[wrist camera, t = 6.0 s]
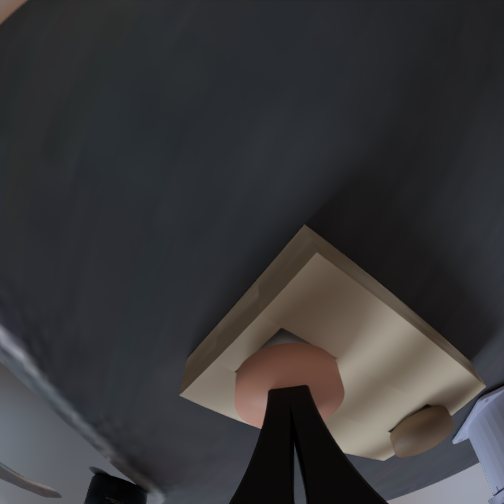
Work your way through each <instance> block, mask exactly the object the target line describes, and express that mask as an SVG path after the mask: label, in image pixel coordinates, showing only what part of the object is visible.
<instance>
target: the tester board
mask: <svg viewBox="0 0 504 504" xmlns="http://www.w3.org/2000/svg"><path fill="white" fill-rule="evenodd" d="M281 327H282V328H284V329H285V330H287V331H289V332H291V333H293V334H294V335H296V336H298V337H300V338H301V339H303V340H305V341H307V342H309V343H310V344H312V345H314V346H317V347H320V348H322V349H324V350H325V351H327V352H328V353H330V354H331V355H332V356H333V358H334V359H335V361H336V363H337V365H338V369H339V372H340V376H341V379H342V383H343V386H344V390H345V396H344V400H343V402H342V404H341V406H340V407H339V408H338V410H337V411H336V412H335V413H334V414H332V415H331V416H330V417H328V418H327V419H325V420H324V423H325V424H326V426H327V428H328V429H329V431H330V433H331V435H332V436H333V438H334V439H335V441H336V443H337V444H338V446H339V447H340V448H341V450H342V451H343V453H348V454H352V455H357V456H362V457H367V458H372V459H377V460H383V461H384V460H386V459H388V458H389V457H391V456H393V455H395V452H394V449H393V446H392V443H391V440H390V435H391V433H392V431H393V430H394V429H395V428H396V427H397V426H398V425H399V424H400V423H401V422H403V421H404V420H405V419H407V418H408V417H410V416H411V415H412V414H414V413H415V412H416V411H418V410H419V409H420V408H422V407H423V406H424V405H426V404H428V405H431V406H432V407H435V406H444V407H446V408H447V409H448V411H449V413H450V416H451V415H453V414H454V413H455V412H457V411H458V410H459V409H460V408H462V407H463V406H464V405H465V404H466V403H468V402H469V401H470V400H471V399H472V398H474V397H475V396H476V395H477V394H478V393H479V392H480V391H482V390H483V389H484V388H485V387H486V385H485V384H484V382H483V381H482V379H481V377H480V376H479V374H478V373H477V371H476V370H475V368H474V366H473V365H472V363H471V362H470V361H469V360H468V359H467V358H466V357H465V356H464V355H463V354H461V353H460V352H459V351H458V350H457V349H456V348H455V347H454V346H453V345H451V344H450V343H449V342H448V341H447V340H446V339H445V338H444V337H442V336H441V335H440V334H439V333H438V332H437V331H436V330H435V329H433V328H432V327H431V326H430V325H429V324H428V323H426V322H425V321H424V320H423V319H422V318H421V317H420V316H418V315H417V314H416V313H415V312H414V311H412V310H411V309H410V308H409V307H408V306H407V305H405V304H404V303H403V302H402V301H401V300H399V299H398V298H397V297H396V296H395V295H393V294H392V293H391V292H390V291H389V290H387V289H386V288H385V287H384V286H383V285H381V284H380V283H379V282H378V281H376V280H375V279H374V278H373V277H371V276H370V275H369V274H368V273H366V272H365V271H364V270H363V269H361V268H360V267H359V266H358V265H356V264H355V263H354V262H353V261H351V260H350V259H349V258H348V257H346V256H345V255H344V254H343V253H341V252H340V251H339V250H337V249H336V248H335V247H334V246H332V245H331V244H330V243H328V242H327V241H326V240H324V239H323V238H322V237H321V236H319V235H318V234H317V233H315V232H314V231H313V230H311V229H310V228H309V227H307V226H306V225H305V224H304V225H303V227H302V228H301V229H300V230H299V231H298V232H297V234H296V235H295V236H294V237H293V238H292V240H291V241H290V242H289V243H288V244H287V245H286V247H285V248H284V249H283V250H282V251H281V252H280V254H279V255H278V256H277V257H276V258H275V259H274V261H273V262H272V263H271V264H270V265H269V266H268V267H267V269H266V270H265V271H264V272H263V273H262V274H261V276H260V277H259V278H258V279H257V280H256V281H255V282H254V284H253V285H252V286H251V287H250V288H249V289H248V290H247V292H246V293H245V294H244V295H243V296H242V297H241V298H240V300H239V301H238V302H237V303H236V304H235V305H234V306H233V308H232V309H231V310H230V311H229V312H228V313H227V314H226V316H225V317H224V318H223V319H222V320H221V321H220V322H219V323H218V325H217V326H216V327H215V328H214V329H213V330H212V331H211V332H210V334H209V335H208V336H207V337H206V338H205V339H204V340H203V341H202V343H201V344H200V345H199V346H198V347H197V348H196V349H195V350H194V351H193V353H192V354H191V355H190V356H189V357H188V358H187V362H186V366H185V371H184V376H183V381H182V386H181V390H180V396H182V397H184V398H186V399H188V400H191V401H193V402H195V403H197V404H199V405H202V406H204V407H206V408H209V409H211V410H214V411H216V412H218V413H221V414H223V415H226V416H228V417H231V418H233V419H236V420H239V421H241V422H244V423H247V422H246V421H244V420H243V419H242V418H241V417H240V416H239V415H238V413H237V411H236V409H235V383H236V374H237V371H238V369H239V367H240V366H241V364H242V363H243V362H244V361H245V360H246V359H247V358H248V357H249V356H251V355H252V354H254V353H255V352H256V351H257V350H258V349H260V348H261V347H262V346H263V345H264V344H265V343H266V342H267V341H268V340H269V339H270V338H271V337H272V336H273V335H274V334H275V333H276V332H277V331H278V330H279V329H280V328H281ZM247 424H249V423H247ZM249 425H251V424H249ZM252 426H253V425H252Z"/></svg>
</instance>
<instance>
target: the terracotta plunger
mask: <svg viewBox="0 0 504 504" xmlns="http://www.w3.org/2000/svg"><path fill="white" fill-rule="evenodd" d="M300 385H307V386H309V389H310V392H311V395H312V397H313V400H314V402H315V405H316V407H317V409H318V411H319V413H320V415H321V417H322V419H323V421H324V420H325V419H327V418H328V417H330V416H331V415H332V414H334V413H335V412H336V411H337V410H338V408H339V407H340V406H341V404H342V402H343V400H344V396H345V390H344V386H343V383H342V379H341V376H340V372H339V369H338V365H337V363H336V361H335V359H334V358H333V356H332V355H331V354H330V353H328V352H327V351H325V350H324V349H322V348H320V347H317V346H314V345H312V344H310V343H309V342H307V341H305V340H303V339H301V338H300V337H298V336H296V335H294V334H293V333H291V332H289V331H287V330H285V329H284V328H282V327H281V328H280V329H279V330H278V331H277V332H276V333H275V334H274V335H273V336H272V337H271V338H270V339H269V340H268V341H267V342H266V343H265V344H264V345H263V346H262V347H261V348H260V349H258V350H257V351H256V352H255V353H254V354H252V355H251V356H249V357H248V358H247V359H246V360H245V361H244V362H243V363H242V364H241V366H240V367H239V369H238V371H237V374H236V383H235V409H236V411H237V413H238V415H239V416H240V417H241V418H242V419H243V420H244V421H246V422H247V423H249V424H251V425H253V426H255V427H258V428H262V425H263V421H264V416H265V411H266V406H267V398H268V391H269V390H270V389H277V388H285V387H293V386H300Z"/></svg>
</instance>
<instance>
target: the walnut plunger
mask: <svg viewBox="0 0 504 504" xmlns="http://www.w3.org/2000/svg"><path fill="white" fill-rule="evenodd" d="M453 429H454V422H453V420H452V418H451V416H450V413H449V411H448V409H447V408H446V407H444V406H435V407H432V406H431V405H428V404H426V405H424V406H423V407H422V408H420V409H419V410H418V411H416V412H415V413H414V414H412V415H411V416H410V417H408V418H407V419H405V420H404V421H403V422H401V423H400V424H399V425H398V426H397V427H396V428H395V429H394V430H393V431H392V433H391V435H390V440H391V443H392V446H393V449H394V452H395V455H396V456H397V457H410V456H414V455H417V454H420V453H422V452H425V451H427V450H429V449H431V448H432V447H434V446H436V445H437V444H439V443H440V442H442V441H443V440H444V439H445V438H446V437H447V436H448V435H449V434H450V433H451V432H452V431H453Z"/></svg>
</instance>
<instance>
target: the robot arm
mask: <svg viewBox="0 0 504 504" xmlns="http://www.w3.org/2000/svg"><path fill="white" fill-rule="evenodd" d="M468 438H469V439H470V441H471V443H472V446H473V448H474V450H475V452H476V455H477V457H478V459H479V462H480V464H481V466H482V469H483V471H484V473H485V476H486V478H487V481H488V483H489V486H490V489H491V491H492V494H493V496H494V497H493V498H491V499H490V500H489V501H488V502H489V504H504V386H503V387H501V388H499V389H497V390H494V391H492V392H490V393H488V394H486V395H484V396H482V397H480V398H479V399H478V401H477V402H476V404H475V406H474V407H473V409H472V411H471V412H470V414H469V416H468V417H467V419H466V421H465V422H464V424H463V425H462V427H461V428H460V430H459V432H458V433H457V435H456V436H455V438H454V439H453V441H452V442H453V444H456V443H459V442H461V441H463V440H465V439H468ZM294 443H295V448H296V452H297V457H298V462H299V466H300V471H301V476H302V480H303V485H304V490H305V496H306V503H307V504H388V503H387V502H386V501H385V500H384V499H383V498H382V497H381V496H380V495H379V494H378V493H377V492H376V491H375V490H374V489H373V488H372V487H371V486H370V485H369V484H368V483H367V482H366V480H365V479H364V478H363V477H362V476H361V475H360V474H359V472H358V471H357V470H356V469H355V467H354V466H353V465H352V464H351V462H350V461H349V460H348V458H347V457H346V456H345V454H344V453H343V451H342V450H341V448H340V447H339V446H338V444H337V443H336V441H335V439H334V438H333V436H332V435H331V433H330V431H329V429H328V428H327V426H326V424H325V423H324V421H323V419H322V417H321V415H320V413H319V411H318V409H317V407H316V405H315V402H314V400H313V397H312V395H311V392H310V389H309V386H307V385H300V386H293V387H285V388H277V389H270V390H269V391H268V398H267V406H266V411H265V416H264V421H263V425H262V428H261V432H260V435H259V438H258V442H257V445H256V447H255V450H254V453H253V455H252V458H251V461H250V463H249V466H248V468H247V470H246V472H245V475H244V477H243V479H242V481H241V483H240V485H239V487H238V489H237V490H236V492H235V494H234V496H233V498H232V499H231V501H230V503H229V504H295V503H294ZM495 495H496V496H495Z"/></svg>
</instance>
